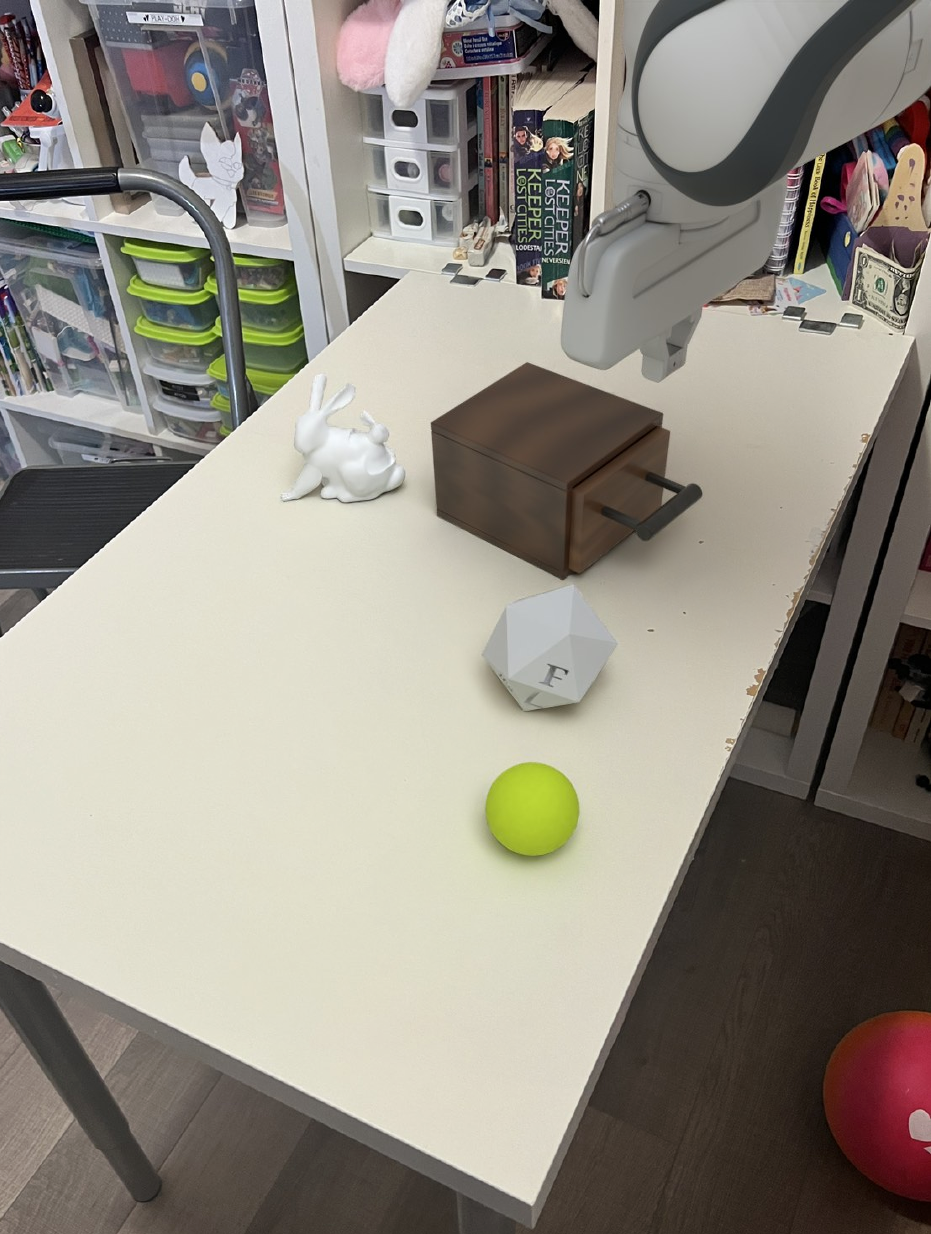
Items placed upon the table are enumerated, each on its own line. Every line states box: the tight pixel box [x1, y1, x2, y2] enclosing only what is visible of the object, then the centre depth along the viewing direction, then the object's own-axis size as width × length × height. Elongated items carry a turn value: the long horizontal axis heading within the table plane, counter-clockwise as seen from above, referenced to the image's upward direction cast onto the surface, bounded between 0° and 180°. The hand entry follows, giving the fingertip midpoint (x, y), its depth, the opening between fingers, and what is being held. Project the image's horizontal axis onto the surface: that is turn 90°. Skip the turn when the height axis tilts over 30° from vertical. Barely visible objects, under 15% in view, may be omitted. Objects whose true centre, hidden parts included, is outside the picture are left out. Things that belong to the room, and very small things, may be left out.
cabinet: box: [430, 361, 664, 581], centre depth 89 cm, size 15×13×10 cm
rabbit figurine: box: [279, 373, 406, 503], centre depth 95 cm, size 12×8×10 cm, turn 78°
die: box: [481, 584, 619, 712], centre depth 75 cm, size 8×9×10 cm
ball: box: [485, 761, 580, 857], centre depth 66 cm, size 6×6×6 cm
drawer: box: [569, 426, 703, 575], centre depth 87 cm, size 18×11×8 cm, turn 45°
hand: (662, 372), depth 74 cm, fingers closed
